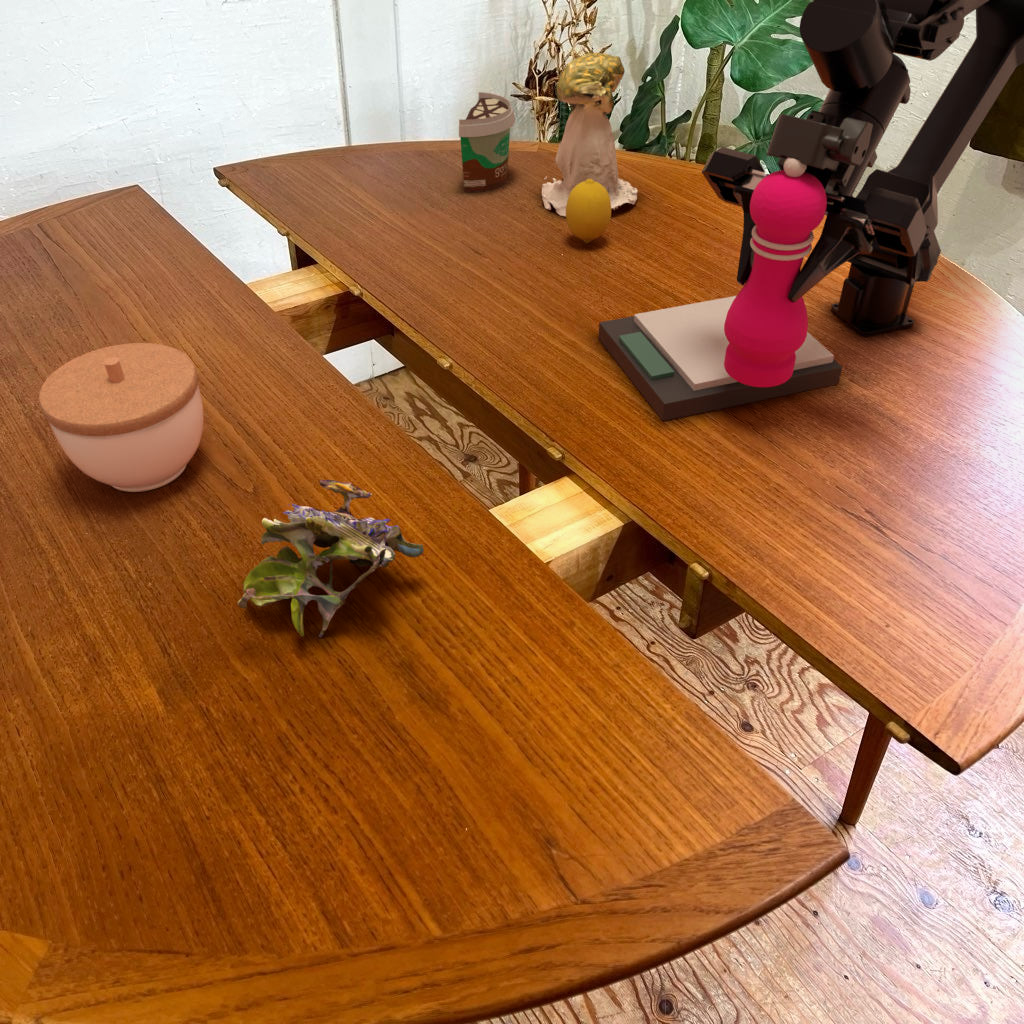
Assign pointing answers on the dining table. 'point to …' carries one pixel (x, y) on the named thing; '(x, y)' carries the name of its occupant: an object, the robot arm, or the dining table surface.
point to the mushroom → (588, 132)
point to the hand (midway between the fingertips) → (764, 291)
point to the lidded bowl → (126, 414)
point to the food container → (486, 143)
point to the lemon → (588, 210)
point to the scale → (699, 360)
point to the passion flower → (321, 554)
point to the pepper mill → (774, 278)
